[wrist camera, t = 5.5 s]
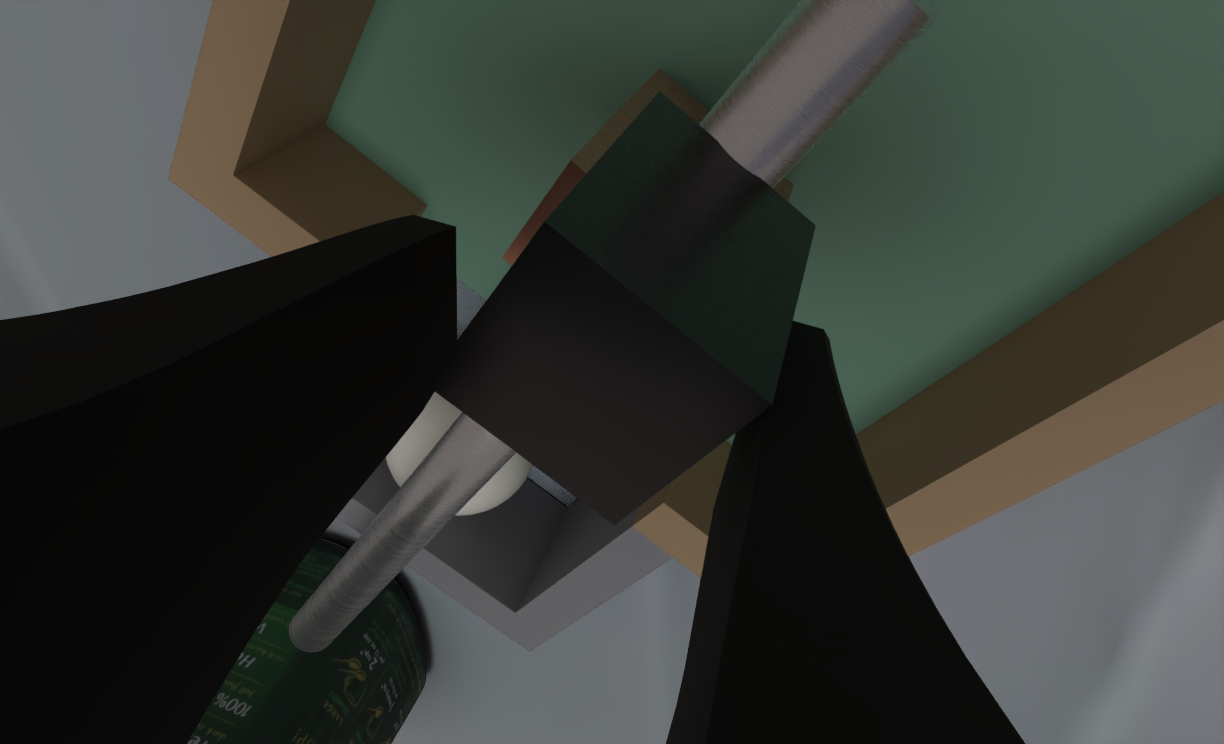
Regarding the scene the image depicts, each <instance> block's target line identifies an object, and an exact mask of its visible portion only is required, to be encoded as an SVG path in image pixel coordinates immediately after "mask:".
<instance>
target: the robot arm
mask: <svg viewBox="0 0 1224 744" xmlns="http://www.w3.org/2000/svg"><path fill="white" fill-rule="evenodd" d="M456 342H457V271H456V226H452V225H449V224H445V223H442V222H438V221H434V220H431V219H427V218H424V217H420V216H416V215H409V216H404V217H399V218H395V219H391V220H387V221H384V222H380V223H377V224H373V225H370V226H367V227H363V228H360V229H357V230H354V231H351V232H348V233H344V234H341V235H338V236H335V237H332V238H329V239H326V240H323V241H320V242H317V243H314V244H310V245H307V246H304V247H301V248H298V249H295V250H292V251H289V252H285V253H282V254H279V255H276V256H273V257H270V258H267V259H264V260H260V261H257V262H254V263H250V264H247V265H243V266H240V267H236V268H233V269H229V270H226V271H222V272H219V273H215V274H212V275H208V276H204V277H201V278H197V279H194V280H190V281H187V282H183V283H180V284H176V285H173V286H169V287H165V288H161V289H157V290H153V291H149V292H145V293H141V294H136V295H132V296H128V297H123V298H119V299H114V300H110V301H105V302H100V303H95V304H90V305H85V306H80V307H75V308H70V309H65V310H61V311H55V312H49V313H44V314H38V315H32V316H25V317H19V318H12V319H5V320H0V744H187V743H188V741H189V739H190V738H191V736H192V734H193V733H194V731H195V729H196V727H197V726H198V724H199V722H200V720H201V719H202V717H203V715H204V714H205V712H206V710H207V708H208V707H209V705H210V703H211V702H212V700H213V698H214V697H215V695H216V693H217V692H218V690H219V689H220V687H221V685H222V684H223V682H224V681H225V679H226V677H227V676H228V674H229V673H230V671H231V669H232V668H233V666H234V665H235V663H236V661H237V660H238V658H239V657H240V655H241V653H242V652H243V650H244V648H245V647H246V645H247V644H248V642H249V640H250V639H251V637H252V636H253V634H254V632H255V631H256V629H257V628H258V626H259V625H260V623H261V622H262V620H263V619H264V617H265V616H266V614H267V613H268V611H269V610H270V608H271V606H272V605H273V603H274V602H275V600H276V599H277V597H278V596H279V594H280V593H281V591H282V590H283V588H284V587H285V585H286V584H287V582H288V581H289V579H290V578H291V576H292V575H293V573H294V572H295V570H296V569H297V567H298V566H299V564H300V563H301V562H302V560H303V559H304V558H305V556H306V555H307V554H308V552H309V551H310V550H311V548H312V547H313V546H314V544H315V543H316V542H317V540H318V539H319V538H320V536H321V535H322V534H323V533H324V531H325V530H326V529H327V528H328V527H329V525H330V524H331V523H332V522H333V521H334V519H335V518H336V517H337V516H338V515H339V513H340V512H341V511H342V510H343V508H344V507H345V506H346V505H347V504H348V502H349V501H350V500H351V499H352V498H353V496H354V495H355V494H356V493H357V491H358V490H359V489H360V488H361V487H362V485H363V484H364V483H365V482H366V481H367V479H368V478H369V477H370V476H371V475H372V473H373V472H374V471H375V470H376V468H377V467H378V466H379V465H380V464H381V462H382V461H383V460H384V459H385V458H386V456H387V455H388V454H389V453H390V451H391V450H392V449H393V448H394V446H395V445H396V444H397V443H398V442H399V440H400V439H401V438H402V437H403V435H404V434H405V433H406V432H407V430H408V429H409V428H410V427H411V425H412V424H413V423H414V422H415V420H416V419H417V418H418V417H419V415H420V414H421V413H422V411H423V410H424V408H425V407H426V405H427V403H428V402H429V400H430V399H431V397H432V395H433V394H434V392H435V391H433V390H432V389H431V388H429V387H428V386H427V385H425V384H426V383H427V381H428V380H429V379H430V377H431V376H432V375H433V373H434V372H435V371H436V369H437V368H438V366H439V365H440V364H441V362H442V361H443V360H444V358H445V357H446V355H447V354H448V353H449V351H450V350H451V349H452V347H453V346H454V344H455V343H456ZM666 744H1025V743H1024V741H1023V740H1022V738H1021V737H1020V735H1019V734H1018V732H1017V731H1016V729H1015V728H1014V726H1013V725H1012V724H1011V722H1010V721H1009V719H1008V718H1007V716H1006V715H1005V713H1004V712H1003V710H1002V709H1001V707H1000V706H999V704H998V703H997V702H996V700H995V699H994V697H993V696H992V694H991V693H990V691H989V690H988V688H987V687H986V685H985V684H984V682H983V681H982V680H981V678H980V677H979V675H978V674H977V672H976V671H975V669H974V668H973V666H972V665H971V663H970V662H969V661H968V659H967V658H966V656H965V654H964V653H963V651H962V649H961V648H960V646H959V644H958V643H957V641H956V640H955V638H954V636H953V635H952V633H951V631H950V630H949V628H948V626H947V625H946V623H945V621H944V620H943V618H942V616H941V615H940V613H939V611H938V610H937V608H936V606H935V604H934V603H933V601H932V599H931V597H930V595H929V594H928V592H927V590H926V588H925V586H924V585H923V583H922V581H921V579H920V577H919V575H918V574H917V572H916V570H915V568H914V566H913V564H912V562H911V560H910V558H909V557H908V555H907V553H906V551H905V549H904V547H903V545H902V543H901V541H900V539H899V536H898V534H897V532H896V530H895V528H894V526H893V524H892V522H891V520H890V517H889V515H888V513H887V511H886V508H885V506H884V504H883V502H882V500H881V497H880V495H879V493H878V491H877V488H876V486H875V483H874V481H873V479H872V476H871V474H870V471H869V469H868V466H867V464H866V461H865V458H864V456H863V453H862V450H861V447H860V445H859V442H858V439H857V436H856V434H855V431H854V428H853V426H852V423H851V420H850V417H849V414H848V411H847V407H846V404H845V401H844V397H843V394H842V391H841V387H840V384H839V380H838V376H837V372H836V368H835V364H834V360H833V355H832V350H831V344H830V339H829V338H828V336H827V334H826V332H825V330H824V329H821V328H818V327H814V326H810V325H807V324H803V323H800V322H796V321H793V322H792V326H791V330H790V334H789V338H788V342H787V346H786V351H785V355H784V359H783V363H782V367H781V371H780V375H779V379H778V384H777V388H776V392H775V396H774V400H773V404H772V406H770V407H769V408H768V409H766V410H765V411H764V412H762V413H761V414H760V415H759V416H757V417H756V418H755V419H753V420H752V421H751V422H749V423H748V424H747V425H745V426H744V427H743V428H742V429H740V430H739V431H738V432H736V433H735V437H734V440H733V443H732V447H731V450H730V453H729V457H728V460H727V464H726V467H725V470H724V474H723V477H722V481H721V484H720V487H719V491H718V494H717V498H716V501H715V504H714V508H713V514H712V519H711V525H710V530H709V536H708V541H707V547H706V552H705V558H704V563H703V569H702V575H701V580H700V586H699V591H698V597H697V603H696V608H695V614H694V619H693V625H692V631H691V636H690V642H689V647H688V653H687V659H686V664H685V670H684V674H683V679H682V683H681V688H680V692H679V697H678V701H677V706H676V709H675V713H674V717H673V720H672V724H671V727H670V731H669V735H668V738H667V742H666Z"/></svg>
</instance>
